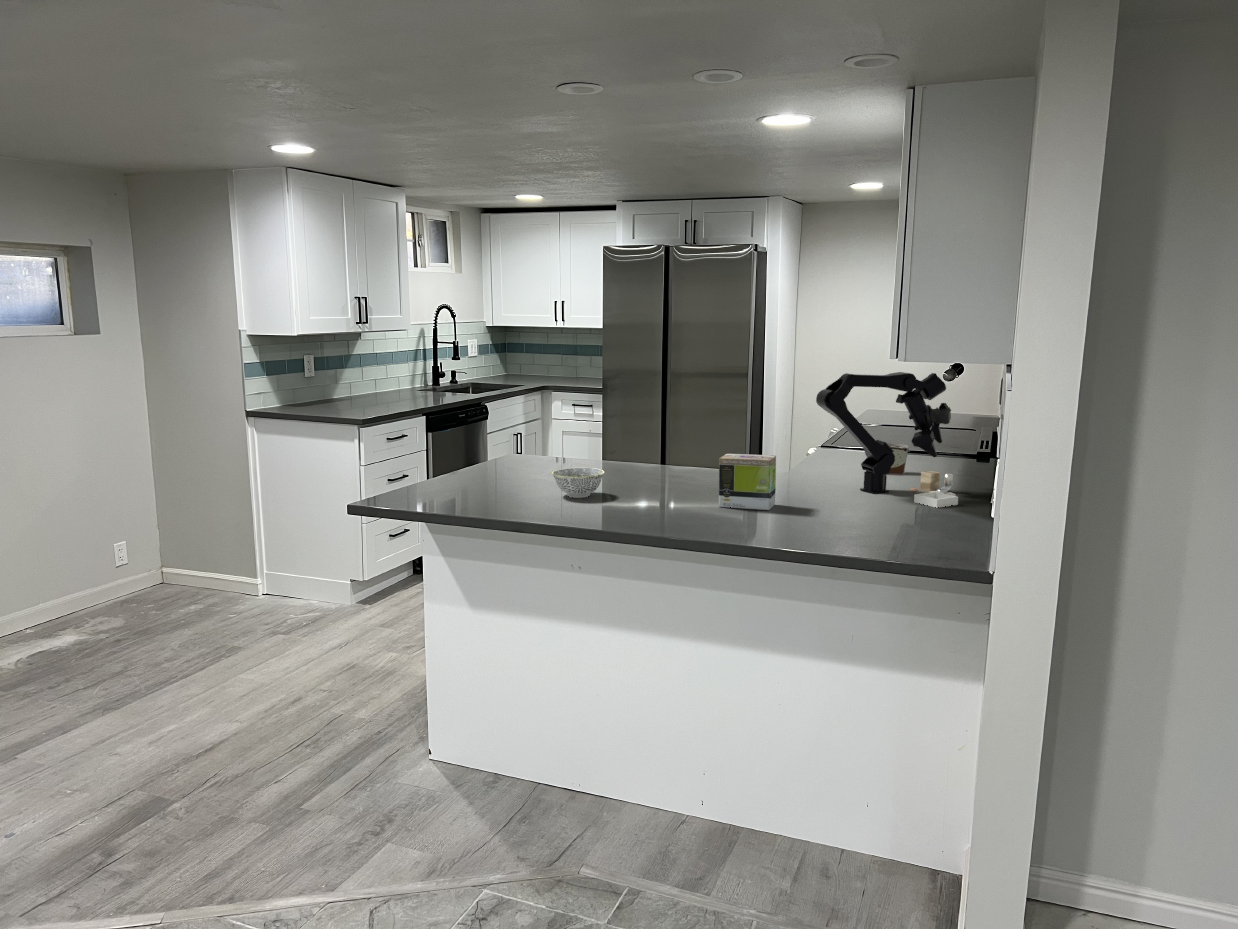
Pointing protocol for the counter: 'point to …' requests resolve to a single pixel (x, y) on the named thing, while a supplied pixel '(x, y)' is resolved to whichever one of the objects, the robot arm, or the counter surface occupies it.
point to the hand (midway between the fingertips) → (938, 449)
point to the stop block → (929, 481)
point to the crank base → (934, 491)
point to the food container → (899, 458)
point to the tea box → (747, 481)
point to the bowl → (578, 481)
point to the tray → (936, 499)
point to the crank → (946, 484)
